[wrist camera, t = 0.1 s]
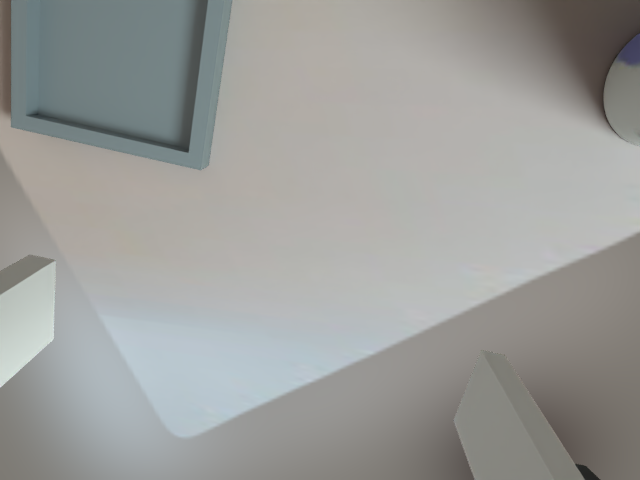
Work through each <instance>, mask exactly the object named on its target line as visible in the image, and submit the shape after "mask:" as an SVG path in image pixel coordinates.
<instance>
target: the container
mask: <svg viewBox="0 0 640 480" xmlns="http://www.w3.org/2000/svg"><path fill="white" fill-rule="evenodd" d="M604 109H605V113H606V116H607V119H608V121H609V123H610V125H611V126H612V128H613V129H614V131H615V132H616V133H617V134H618V135H619V136H620V137H622V138H623V139H624V140H626V141H628V142H630V143H632V144H634V145H637V146H640V33H639V34H638V35H636V36H635V37H634V38H633V39H632V40H631V41H629V42H628V43H627V44H626V46H625V47H624V48H623V49H622V50H621V51H620V53H619V54H618V56H617V57H616V59H615V60H614V62H613V64H612V66H611V68H610V70H609V73H608V75H607V78H606V82H605V87H604Z"/></svg>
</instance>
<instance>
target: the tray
mask: <svg viewBox="0 0 640 480" xmlns="http://www.w3.org/2000/svg"><path fill="white" fill-rule="evenodd" d="M231 5H232V0H11V127H13V128H17V129H21V130H26V131H30V132H35V133H39V134H43V135H48V136H52V137H57V138H61V139H65V140H70V141H74V142H79V143H83V144H88V145H92V146H96V147H101V148H105V149H110V150H114V151H118V152H123V153H127V154H132V155H136V156H140V157H145V158H149V159H154V160H158V161H163V162H167V163H171V164H176V165H180V166H185V167H189V168H193V169H198V170H202V169H204V168H205V167H207V166H208V165H209V159H210V152H211V145H212V138H213V131H214V124H215V117H216V110H217V103H218V96H219V89H220V82H221V75H222V68H223V61H224V54H225V47H226V40H227V33H228V26H229V19H230V12H231Z"/></svg>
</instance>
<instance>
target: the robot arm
mask: <svg viewBox="0 0 640 480" xmlns="http://www.w3.org/2000/svg"><path fill="white" fill-rule="evenodd" d="M55 271H56V260H53V259H48V258H44V257H38V256H34V255H28V256H26V257H25V258H23V259H21V260H19V261H17V262H16V263H14V264H12V265H10V266H8V267H7V268H5V269H3V270H1V271H0V387H1V386H2V385H4V384H5V383H6V382H7V381H8V380H9V379H10V378H11V377H12V376H13V375H15V374H16V373H17V372H18V371H19V370H20V369H21V368H22V367H23V366H25V365H26V364H27V363H28V362H29V361H30V360H31V359H32V358H33V357H34V356H35V355H37V354H38V353H39V352H40V351H41V350H42V349H43V348H44V347H45V346H46V345H48V344H49V343H50V342H51V341H52V340H53V338H54V307H55ZM453 421H454V424H455V426H456V429H457V432H458V434H459V437H460V440H461V443H462V446H463V449H464V451H465V454H466V457H467V460H468V462H469V465H470V468H471V471H472V474H473V476H474V479H475V480H600V479H599V478H598V477H597V476H596V475H595V474H594V473H593V472H591V471H590V470H589V469H588V468H587V467H586V466H584V465H578V464H574V462H573V461H572V459H571V457H570V456H569V454H568V453H567V451H566V449H565V448H564V446H563V445H562V443H561V442H560V440H559V439H558V437H557V436H556V434H555V432H554V431H553V429H552V428H551V426H550V425H549V423H548V422H547V420H546V418H545V417H544V415H543V414H542V412H541V411H540V409H539V407H538V406H537V404H536V403H535V402H534V400H533V398H532V396H531V395H530V393H529V392H528V390H527V389H526V387H525V385H524V384H523V382H522V381H521V379H520V378H519V376H518V375H517V373H516V371H515V370H514V368H513V367H512V365H511V364H510V362H509V361H508V359H507V357H506V356H505V355H502V354H498V353H493V352H488V351H484V350H481V352H480V355H479V357H478V360H477V362H476V365H475V367H474V370H473V373H472V375H471V377H470V380H469V382H468V385H467V388H466V390H465V392H464V395H463V397H462V400H461V402H460V405H459V407H458V410H457V412H456V415H455V418H454V420H453Z"/></svg>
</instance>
